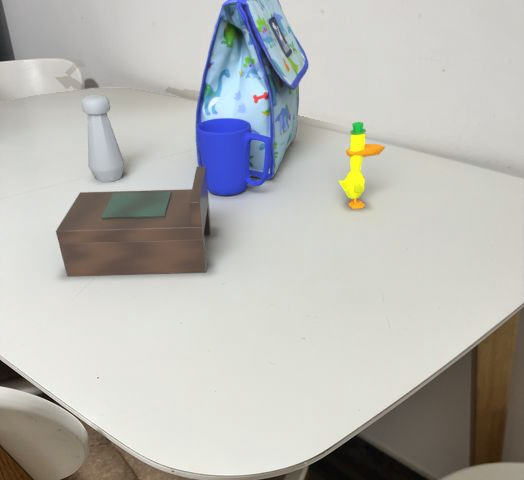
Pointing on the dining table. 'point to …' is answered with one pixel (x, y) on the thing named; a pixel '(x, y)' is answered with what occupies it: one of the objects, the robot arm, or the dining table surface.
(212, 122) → the mug
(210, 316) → the dining table surface
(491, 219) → the dining table surface
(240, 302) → the dining table surface
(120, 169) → the salt shaker
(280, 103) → the lunch bag
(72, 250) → the toy bed
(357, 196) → the toy figure
